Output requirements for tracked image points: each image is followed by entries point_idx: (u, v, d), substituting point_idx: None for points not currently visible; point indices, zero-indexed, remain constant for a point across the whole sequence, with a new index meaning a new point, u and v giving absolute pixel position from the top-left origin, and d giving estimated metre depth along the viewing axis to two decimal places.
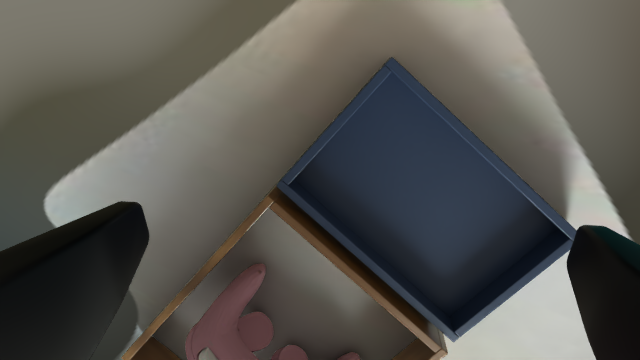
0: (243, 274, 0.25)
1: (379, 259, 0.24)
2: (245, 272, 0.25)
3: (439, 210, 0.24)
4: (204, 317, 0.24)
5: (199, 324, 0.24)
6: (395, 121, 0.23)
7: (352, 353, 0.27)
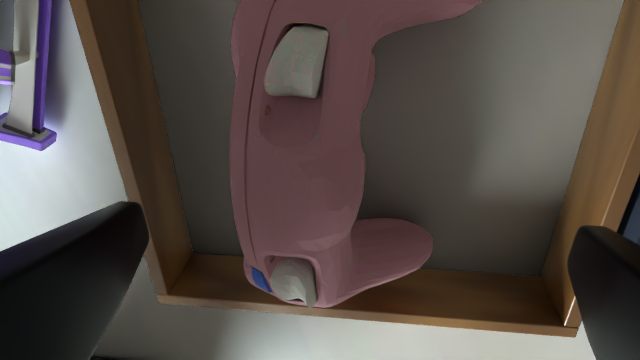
0: None
1: None
2: None
3: None
4: None
5: None
6: None
7: (423, 229, 0.15)
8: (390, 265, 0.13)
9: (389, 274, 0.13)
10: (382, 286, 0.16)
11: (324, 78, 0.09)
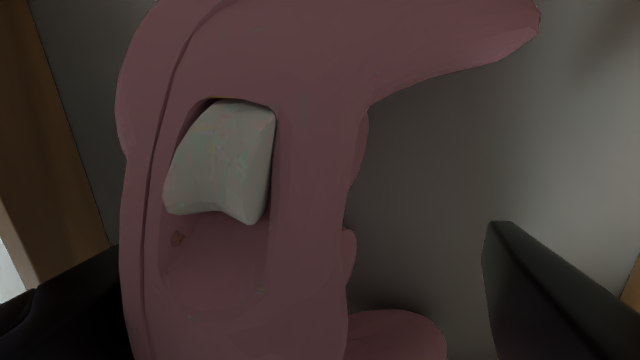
0: None
1: None
2: None
3: None
4: None
5: None
6: None
7: (434, 325, 0.12)
8: None
9: None
10: None
11: (271, 190, 0.05)
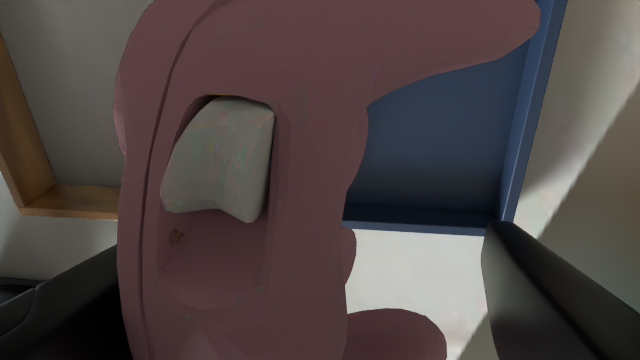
0: None
1: None
2: None
3: (426, 106, 0.18)
4: None
5: None
6: None
7: (434, 325, 0.12)
8: None
9: None
10: None
11: (270, 188, 0.05)
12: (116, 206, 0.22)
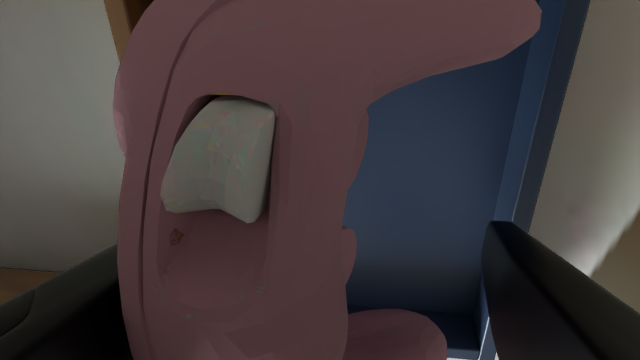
0: None
1: None
2: None
3: (370, 178, 0.13)
4: None
5: None
6: None
7: (434, 325, 0.12)
8: None
9: None
10: None
11: (270, 188, 0.05)
12: None
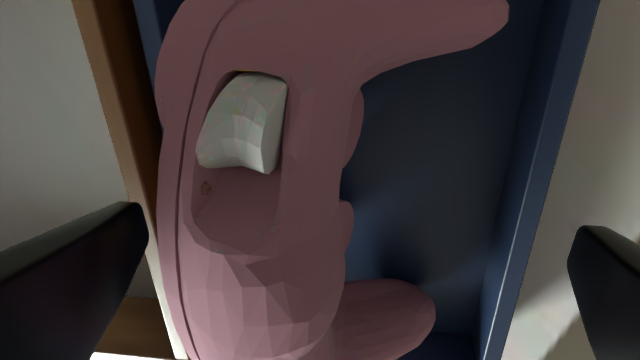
0: None
1: None
2: None
3: (363, 196, 0.12)
4: None
5: None
6: None
7: (424, 292, 0.13)
8: (383, 347, 0.11)
9: (381, 359, 0.11)
10: None
11: (283, 147, 0.06)
12: None
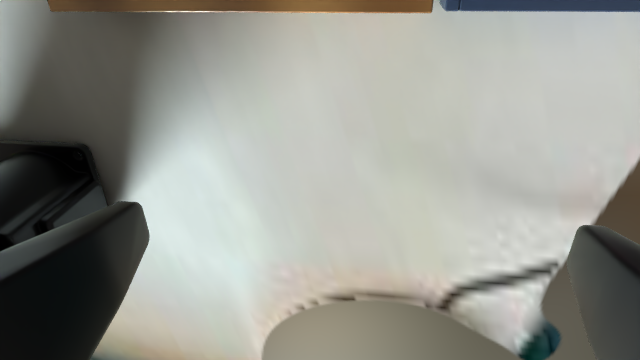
0: None
1: None
2: None
3: None
4: None
5: None
6: None
7: None
8: None
9: None
10: None
11: None
12: None
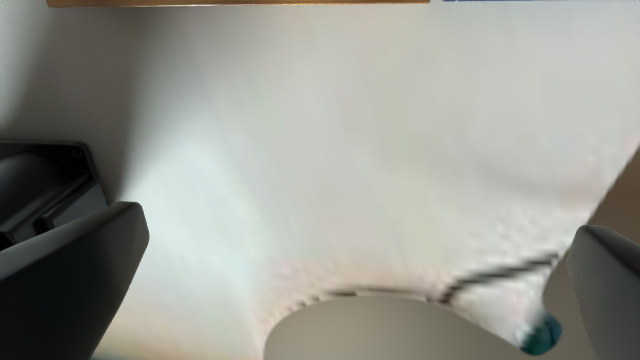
0: None
1: None
2: None
3: None
4: None
5: None
6: None
7: None
8: None
9: None
10: None
11: None
12: None
